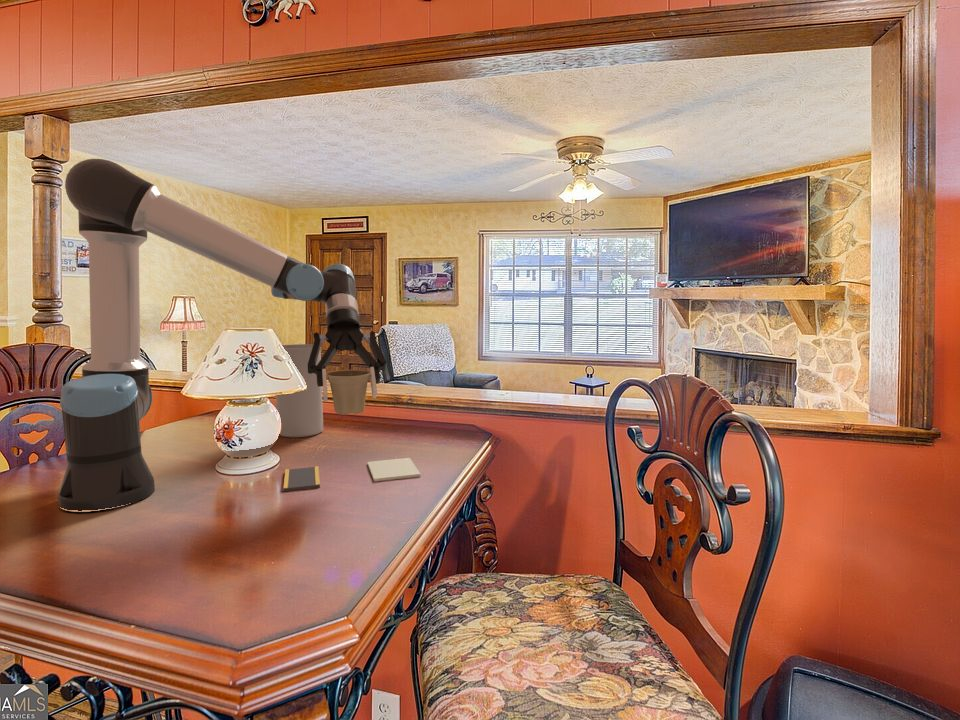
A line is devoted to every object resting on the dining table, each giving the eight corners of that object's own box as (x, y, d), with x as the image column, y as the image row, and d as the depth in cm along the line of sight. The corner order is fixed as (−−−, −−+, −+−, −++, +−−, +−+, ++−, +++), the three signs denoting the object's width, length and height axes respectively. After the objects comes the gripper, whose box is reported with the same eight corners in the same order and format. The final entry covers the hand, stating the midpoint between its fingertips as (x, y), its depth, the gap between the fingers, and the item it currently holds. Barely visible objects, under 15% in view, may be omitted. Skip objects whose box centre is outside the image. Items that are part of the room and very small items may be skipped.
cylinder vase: (267, 436, 145) (263, 347, 142) (295, 425, 157) (292, 343, 154) (306, 440, 141) (302, 349, 138) (331, 428, 153) (329, 345, 150)
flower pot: (366, 417, 108) (365, 376, 107) (321, 417, 108) (319, 376, 107) (376, 407, 117) (375, 369, 116) (334, 407, 117) (333, 369, 116)
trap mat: (283, 491, 104) (283, 488, 104) (285, 472, 115) (285, 469, 115) (319, 487, 106) (319, 484, 106) (318, 469, 118) (318, 466, 117)
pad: (374, 481, 110) (374, 478, 110) (367, 464, 121) (367, 461, 121) (420, 476, 113) (420, 473, 113) (409, 460, 124) (409, 457, 124)
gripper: (388, 327, 128) (400, 402, 115) (293, 329, 121) (295, 409, 108) (391, 306, 123) (404, 383, 110) (292, 306, 116) (294, 388, 103)
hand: (350, 396), depth 109 cm, fingers closed on flower pot, 9 cm apart
